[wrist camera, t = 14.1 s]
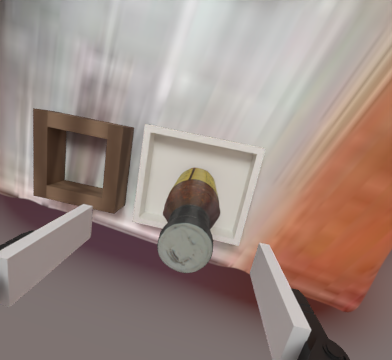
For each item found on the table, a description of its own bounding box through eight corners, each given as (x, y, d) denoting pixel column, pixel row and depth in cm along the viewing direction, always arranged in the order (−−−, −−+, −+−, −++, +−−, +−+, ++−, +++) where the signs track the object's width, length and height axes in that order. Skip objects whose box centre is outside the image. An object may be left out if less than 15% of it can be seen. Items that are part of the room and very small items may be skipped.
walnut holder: (52, 189, 37) (33, 195, 33) (54, 111, 34) (33, 108, 30) (124, 205, 36) (114, 213, 32) (133, 127, 33) (123, 126, 29)
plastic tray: (139, 213, 36) (132, 221, 33) (152, 125, 33) (144, 124, 29) (236, 235, 36) (238, 245, 32) (260, 147, 32) (265, 148, 28)
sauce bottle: (180, 202, 34) (137, 288, 15) (177, 166, 33) (127, 210, 14) (218, 201, 34) (225, 289, 14) (216, 165, 32) (222, 207, 13)
